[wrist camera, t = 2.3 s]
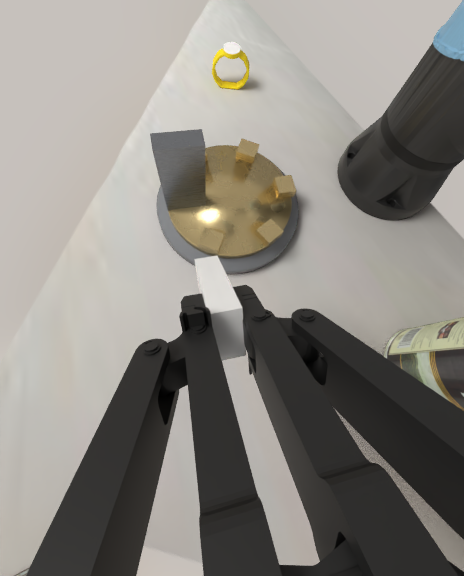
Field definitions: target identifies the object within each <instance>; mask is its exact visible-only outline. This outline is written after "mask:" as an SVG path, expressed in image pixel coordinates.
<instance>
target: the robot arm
mask: <svg viewBox="0 0 464 576" xmlns="http://www.w3.org/2000/svg"><path fill="white" fill-rule="evenodd" d="M463 159H464V0H463V1H462V2H461V4H460V5H459V6H458V8H457V9H456V10H455V12H454V13H453V15H452V16H451V17H450V19H449V20H448V21H447V23H446V24H445V25H443V26H442V27H441V28H440V29H439V30H438V32H437V33H436V35H435V37H434V41H433V43H432V45H431V46H430V48H429V49H428V50H427V52H426V54H425V55H424V56H423V58H422V59H421V61H420V62H419V64H418V65H417V67H416V68H415V69H414V71H413V72H412V74H411V75H410V77H409V78H408V80H407V81H406V82H405V84H404V85H403V87H402V88H401V90H400V91H399V93H398V94H397V95H396V97H395V98H394V100H393V101H392V103H391V104H390V106H389V107H388V109H387V110H386V111H385V113H384V114H383V116H382V117H381V118H379V119H378V120H377V121H376V122H375V123H373V124H372V125H371V126H370V127H369V128H367V129H366V130H365V131H364V132H362V133H361V134H360V135H359V136H357V137H356V138H355V139H354V140H353V141H352V142H351V143H350V144H349V146H348V147H347V149H346V150H345V152H344V153H343V155H342V157H341V158H340V161H339V164H338V178H339V182H340V185H341V187H342V189H343V191H344V193H345V194H346V196H347V197H348V198H349V199H350V200H351V201H352V203H354V204H355V205H356V206H357V207H358V208H360V209H361V210H363V211H364V212H366V213H368V214H370V215H372V216H375V217H378V218H382V219H387V220H400V219H405V218H408V217H411V216H413V215H414V214H416V213H417V212H419V211H420V210H421V209H423V208H424V207H425V206H426V205H428V204H429V203H430V202H431V201H432V199H433V198H434V197H435V195H436V194H437V192H438V191H439V189H440V188H441V186H442V185H443V183H444V181H445V180H446V179H447V177H448V175H449V174H450V172H451V171H452V169H453V168H454V167H455V166H456V165H457V164H459V163H460V162H461V161H462V160H463ZM194 260H195V266H196V273H197V279H198V285H199V291H200V294H196V295H190V296H185V297H184V298H183V299H182V301H181V308H182V312H181V313H180V316H179V317H180V322H181V326H182V331H183V332H182V334H181V335H180V336H179V337H178V338H177V339H175V340H173V341H171V342H169V343H167V342H166V341H164V340H162V339H152V340H148V341H146V342H144V343H142V344H141V345H140V346H139V347H138V348H137V349H136V351H135V353H134V355H133V357H132V359H131V361H130V363H129V365H128V367H127V369H126V371H125V373H124V376H123V378H122V380H121V382H120V384H119V386H118V388H117V390H116V392H115V394H114V396H113V398H112V400H111V402H110V404H109V406H108V408H107V410H106V412H105V414H104V417H103V419H102V421H101V423H100V425H99V427H98V429H97V431H96V433H95V435H94V437H93V439H92V441H91V443H90V445H89V447H88V449H87V451H86V453H85V455H84V458H83V460H82V462H81V464H80V466H79V468H78V470H77V472H76V474H75V476H74V478H73V480H72V482H71V484H70V486H69V488H68V490H67V492H66V494H65V496H64V498H63V501H62V503H61V505H60V507H59V509H58V511H57V513H56V515H55V517H54V519H53V521H52V523H51V525H50V527H49V529H48V531H47V533H46V535H45V537H44V539H43V542H42V544H41V546H40V548H39V550H38V552H37V554H36V556H35V558H34V560H33V562H32V564H31V566H30V568H29V570H28V572H27V574H26V576H136V574H137V570H138V565H139V561H140V557H141V553H142V549H143V544H144V540H145V536H146V532H147V527H148V523H149V519H150V514H151V510H152V506H153V502H154V497H155V493H156V489H157V485H158V480H159V476H160V472H161V468H162V463H163V459H164V455H165V451H166V446H167V442H168V438H169V434H170V429H171V425H172V421H173V417H174V412H175V408H176V404H177V400H178V395H179V389H180V388H182V387H184V386H186V385H188V390H189V401H190V411H191V421H192V431H193V441H194V451H195V461H196V472H197V482H198V492H199V502H200V518H199V523H200V539H201V549H202V560H203V571H204V576H464V572H463V571H462V570H460V569H459V568H458V567H456V566H455V565H453V564H452V563H451V562H449V561H448V560H447V559H446V558H445V556H444V555H443V553H442V552H441V550H440V549H439V547H438V546H437V544H436V543H435V541H434V540H433V538H432V537H431V535H430V534H429V532H428V531H427V530H426V528H425V527H424V525H423V524H422V522H421V521H420V519H419V518H418V516H417V515H416V513H415V512H414V510H413V509H412V507H411V506H410V505H409V503H408V502H407V500H406V499H405V497H404V496H403V494H402V493H401V491H400V490H399V488H398V487H397V485H396V484H395V482H394V481H393V480H392V478H391V477H390V476H389V474H388V473H387V472H386V471H385V469H384V468H382V467H381V466H380V465H379V464H375V463H370V462H369V461H368V460H367V459H366V458H365V456H364V455H363V454H362V452H361V450H360V449H359V447H358V446H357V444H356V443H355V441H354V439H353V438H352V436H351V435H350V433H349V432H348V430H347V429H346V427H345V425H344V424H343V422H342V421H341V419H340V418H339V416H338V414H337V413H336V411H335V410H334V408H335V409H336V410H337V411H338V412H339V413H340V414H341V415H342V416H343V417H344V418H345V419H346V421H347V422H348V423H349V424H350V425H351V426H352V427H353V428H354V429H355V430H356V431H357V432H358V433H359V434H360V435H361V436H362V437H363V438H364V439H365V440H366V441H367V442H368V443H369V444H370V445H371V446H372V447H373V448H374V449H375V450H376V451H377V452H378V453H379V454H380V455H381V456H382V457H383V458H384V459H385V460H386V461H387V462H388V463H389V464H390V465H391V466H392V467H393V469H394V470H395V471H396V472H397V473H398V474H399V475H400V476H401V477H402V478H403V479H404V480H405V481H406V482H407V483H408V484H409V485H410V486H411V487H412V488H413V489H414V490H415V491H416V492H417V493H418V494H419V495H420V496H421V497H422V498H423V499H424V500H425V501H426V502H427V503H428V504H429V505H430V506H431V507H432V508H433V509H434V510H435V511H436V512H437V513H438V514H439V516H440V517H441V518H442V519H443V520H444V521H445V522H446V523H447V524H448V525H449V526H450V527H451V528H452V529H453V530H454V531H455V532H456V533H458V534H459V535H460V536H461V537H462V538H463V539H464V411H463V410H462V409H460V408H459V407H457V406H456V405H454V404H453V403H451V402H450V401H448V400H447V399H445V398H444V397H442V396H441V395H439V394H438V393H437V392H435V391H434V390H432V389H431V388H429V387H428V386H426V385H425V384H423V383H422V382H420V381H419V380H417V379H416V378H414V377H413V376H412V375H410V374H409V373H407V372H406V371H404V370H403V369H401V368H400V367H398V366H397V365H395V364H394V363H392V362H391V361H389V360H388V359H387V358H385V357H384V356H382V355H381V354H379V353H378V352H376V351H375V350H373V349H372V348H370V347H369V346H367V345H366V344H364V343H363V342H361V341H360V340H359V339H357V338H356V337H354V336H353V335H351V334H350V333H348V332H347V331H345V330H344V329H342V328H341V327H339V326H338V325H336V324H335V323H334V322H332V321H331V320H329V319H328V318H326V317H325V316H323V315H322V314H320V313H319V312H317V311H315V310H311V309H299V310H296V311H295V312H293V314H292V318H277V317H275V316H274V314H273V313H272V312H271V311H268V310H266V309H264V307H263V306H262V304H261V302H260V301H259V299H258V298H257V296H256V294H255V292H254V291H253V289H252V288H250V287H249V286H247V285H243V286H237V287H232V285H231V283H230V281H229V279H228V277H227V275H226V272H225V270H224V268H223V266H222V264H221V262H220V260H219V258H218V256H211V257H205V258H198V259H194ZM245 347H246V348H245ZM246 350H247V352H248V360H249V373H250V374H252V372H253V375H254V378H255V380H256V383H257V386H258V388H259V391H260V393H261V396H262V399H263V401H264V404H265V407H266V409H267V412H268V414H269V417H270V420H271V422H272V425H273V427H274V430H275V433H276V435H277V438H278V441H279V443H280V446H281V448H282V451H283V454H284V456H285V459H286V462H287V464H288V467H289V469H290V472H291V475H292V477H293V480H294V482H295V485H296V488H297V490H298V493H299V496H300V498H301V501H302V503H303V506H304V509H305V511H306V514H307V517H308V519H309V522H310V525H311V528H312V532H313V537H314V542H315V546H316V550H317V553H318V557H319V560H320V562H319V563H318V564H316V565H314V566H296V565H279V563H278V559H277V555H276V552H275V548H274V544H273V541H272V537H271V533H270V530H269V526H268V522H267V519H266V515H265V512H264V509H263V505H262V503H261V500H260V498H259V497H258V494H257V491H256V488H255V484H254V480H253V477H252V473H251V469H250V465H249V462H248V458H247V454H246V450H245V447H244V443H243V439H242V435H241V432H240V428H239V424H238V420H237V417H236V413H235V409H234V405H233V402H232V398H231V394H230V390H229V387H228V383H227V379H226V375H225V372H224V368H223V364H222V360H226V359H231V358H235V357H240V356H245V355H246ZM321 353H322V354H321ZM332 406H333V407H334V408H333V407H332Z"/></svg>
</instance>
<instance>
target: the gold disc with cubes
mask: <svg viewBox="0 0 464 576" xmlns="http://www.w3.org/2000/svg"><path fill="white" fill-rule="evenodd" d="M150 136H151V143H152V149H153V154H154V158H155V162H156V166H157V170H158V174H159V178H160V182H161V186H162V190H163V194H164V198H165V202H166V206H167V210H168V212H169V216H170V219H171V222H172V224H173V226H174V228H175V229H176V231H177V232H178V234H179V235H180V236H181V237H182V238H183V239H184V240H185V241H186V242H187V243H188V244H189V245H191V246H192V247H193V248H195V249H197V250H199V251H200V252H203V253H205V254H208V255H211V256H218V257H219V258H226V259H236V258H244V257H249V256H252V255H255V254H258V253H259V252H261V251H263V250H265V249H267V248H268V247H269V246H271V245H272V244H273V243H274V242H275V241H276V240H277V239H278V238H279V237H281V236H282V234H283V232H284V231H283V230H284V228H285V226H286V225H287V223H288V220H289V217H290V214H291V209H292V197H294V195H295V193H296V189H295V185H294V182H293V179H292V176H291V175H287V176H284V175H283V174H282V173H281V171H280V170H279V169H278V168H277V167H276V166H275V165H274V164H273V163H272V162H271V161H270V160H268V159H267V158H265V157H264V156H262V155H260V154H259V153H257V152H258V148H259V144H256V143H253V142H250V141H247V140H245V139H241V142H240V144H239V146H238V147H237V146H228V145H223V146H213V147H208V148H205V142H204V138H203V133H202V129H199V130H187V131H176V132H164V133H152V134H150Z"/></svg>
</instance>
